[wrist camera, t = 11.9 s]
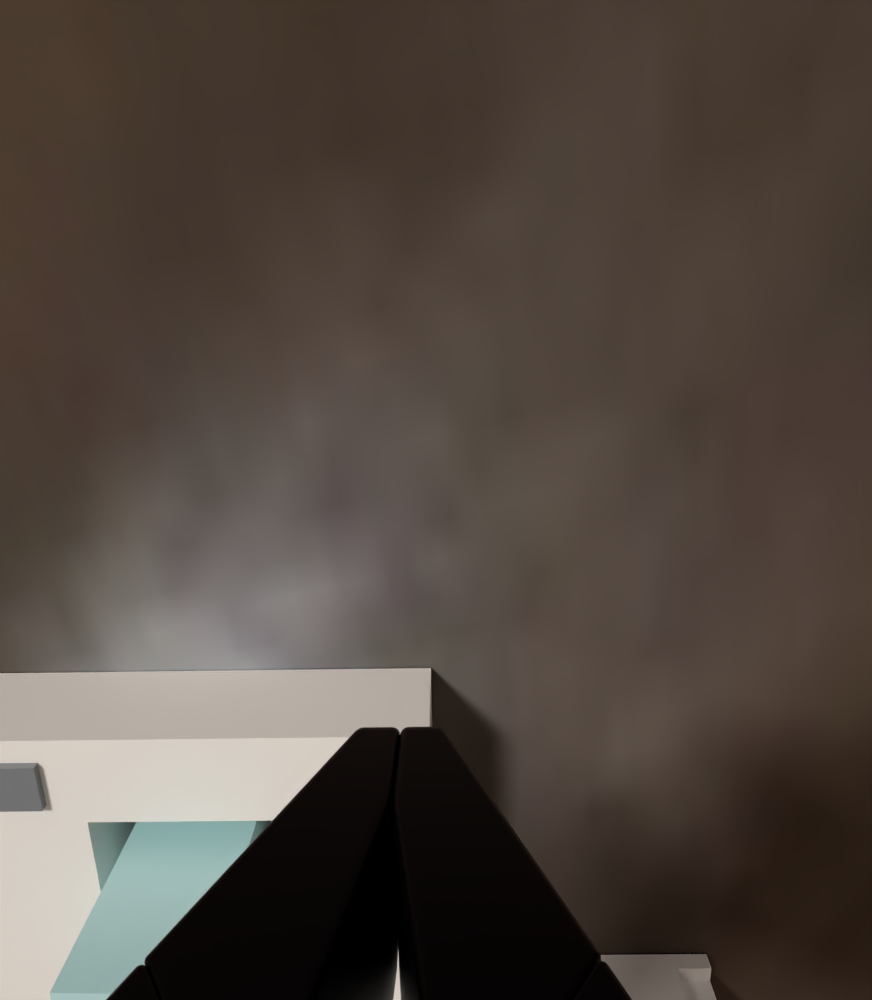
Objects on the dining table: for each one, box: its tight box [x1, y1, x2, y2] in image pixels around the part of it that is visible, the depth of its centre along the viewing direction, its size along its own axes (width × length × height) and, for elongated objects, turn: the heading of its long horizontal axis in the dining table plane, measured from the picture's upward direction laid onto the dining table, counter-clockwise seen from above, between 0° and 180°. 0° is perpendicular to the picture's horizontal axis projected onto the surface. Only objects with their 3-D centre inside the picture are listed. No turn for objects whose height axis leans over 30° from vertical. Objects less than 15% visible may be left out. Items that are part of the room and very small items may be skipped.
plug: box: [50, 821, 271, 1000], centre depth 19 cm, size 3×4×8 cm
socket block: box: [0, 668, 432, 1000], centre depth 22 cm, size 12×10×3 cm
